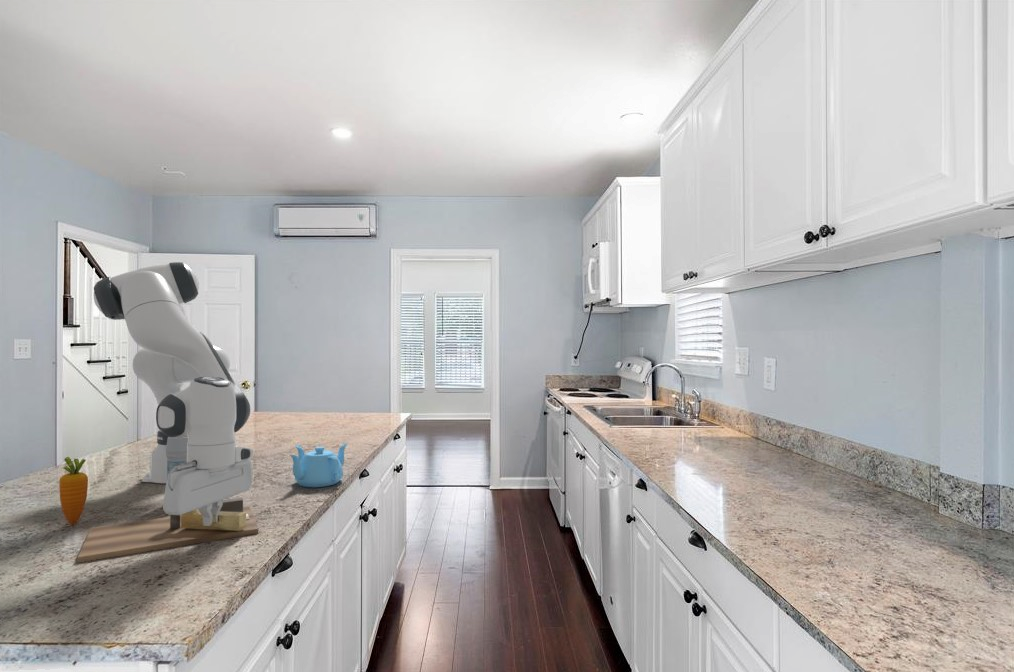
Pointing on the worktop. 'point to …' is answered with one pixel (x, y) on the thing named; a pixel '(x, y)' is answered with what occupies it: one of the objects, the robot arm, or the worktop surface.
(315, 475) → the teapot
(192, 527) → the swing bar
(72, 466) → the carrot
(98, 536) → the latch board
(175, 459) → the bottle
